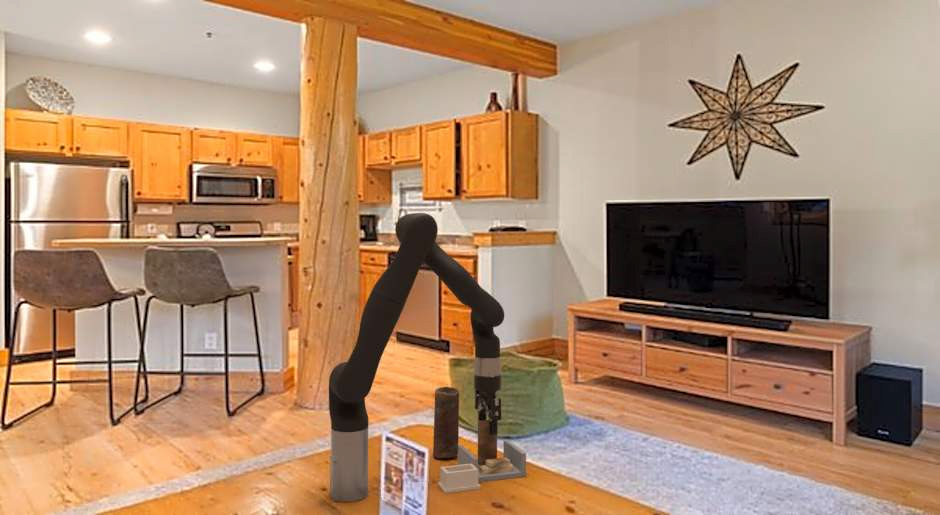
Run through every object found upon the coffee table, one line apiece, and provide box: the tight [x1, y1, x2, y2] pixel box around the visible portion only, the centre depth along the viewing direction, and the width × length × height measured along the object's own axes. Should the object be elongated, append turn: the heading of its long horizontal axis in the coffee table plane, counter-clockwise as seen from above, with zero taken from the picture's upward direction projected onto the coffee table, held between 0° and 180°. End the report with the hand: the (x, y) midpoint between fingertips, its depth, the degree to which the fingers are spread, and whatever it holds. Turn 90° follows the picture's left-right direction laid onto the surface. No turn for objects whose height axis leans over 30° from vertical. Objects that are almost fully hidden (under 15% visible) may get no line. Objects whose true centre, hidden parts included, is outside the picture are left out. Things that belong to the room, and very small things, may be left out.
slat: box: [477, 419, 498, 466], centre depth 181 cm, size 5×2×12 cm, turn 109°
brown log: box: [432, 386, 460, 460], centre depth 190 cm, size 8×7×20 cm
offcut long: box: [478, 463, 514, 475], centre depth 175 cm, size 9×3×2 cm, turn 109°
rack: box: [457, 439, 527, 483], centre depth 178 cm, size 15×13×6 cm
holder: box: [437, 463, 482, 494], centre depth 167 cm, size 10×6×5 cm, turn 109°
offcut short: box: [486, 457, 510, 469], centre depth 175 cm, size 6×3×2 cm, turn 113°
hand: (487, 430), depth 181 cm, fingers open, 8 cm apart
